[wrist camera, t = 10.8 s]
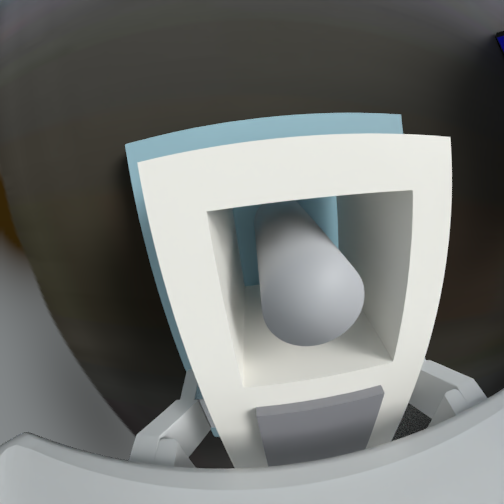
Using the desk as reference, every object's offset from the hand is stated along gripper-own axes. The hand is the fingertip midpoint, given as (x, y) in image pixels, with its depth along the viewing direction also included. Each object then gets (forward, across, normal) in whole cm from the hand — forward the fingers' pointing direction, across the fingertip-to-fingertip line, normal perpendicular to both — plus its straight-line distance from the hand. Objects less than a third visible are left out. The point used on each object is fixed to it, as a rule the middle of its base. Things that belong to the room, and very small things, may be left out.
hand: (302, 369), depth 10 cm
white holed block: (+2, 0, 0) cm, 2 cm away
